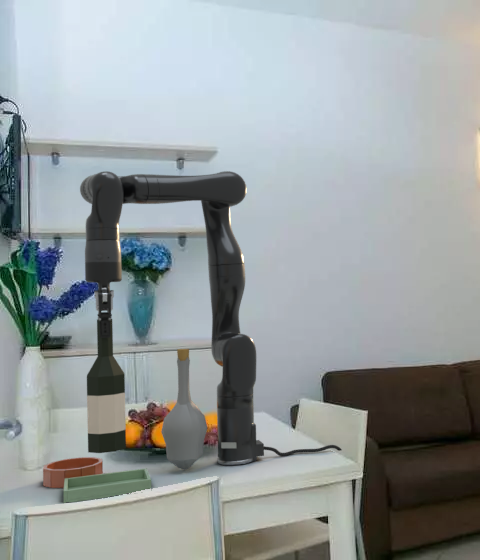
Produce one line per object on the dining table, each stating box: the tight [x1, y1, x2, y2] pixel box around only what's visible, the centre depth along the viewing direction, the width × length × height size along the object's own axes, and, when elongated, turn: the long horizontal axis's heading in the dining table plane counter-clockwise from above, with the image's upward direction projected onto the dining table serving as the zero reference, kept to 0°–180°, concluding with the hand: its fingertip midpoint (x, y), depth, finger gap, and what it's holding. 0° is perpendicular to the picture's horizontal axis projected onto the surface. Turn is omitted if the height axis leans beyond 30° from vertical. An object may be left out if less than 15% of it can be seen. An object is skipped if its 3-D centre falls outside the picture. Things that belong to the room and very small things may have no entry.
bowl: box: [42, 456, 104, 489], centre depth 162 cm, size 13×13×4 cm
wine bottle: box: [86, 318, 127, 454], centre depth 153 cm, size 8×8×30 cm
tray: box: [62, 467, 152, 504], centre depth 152 cm, size 17×11×3 cm, turn 116°
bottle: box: [160, 348, 208, 471], centre depth 169 cm, size 11×11×30 cm
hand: (104, 337), depth 153 cm, fingers closed on wine bottle, 3 cm apart
